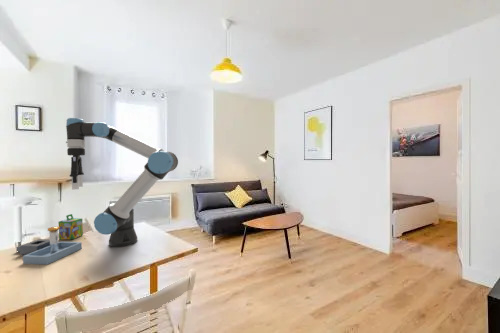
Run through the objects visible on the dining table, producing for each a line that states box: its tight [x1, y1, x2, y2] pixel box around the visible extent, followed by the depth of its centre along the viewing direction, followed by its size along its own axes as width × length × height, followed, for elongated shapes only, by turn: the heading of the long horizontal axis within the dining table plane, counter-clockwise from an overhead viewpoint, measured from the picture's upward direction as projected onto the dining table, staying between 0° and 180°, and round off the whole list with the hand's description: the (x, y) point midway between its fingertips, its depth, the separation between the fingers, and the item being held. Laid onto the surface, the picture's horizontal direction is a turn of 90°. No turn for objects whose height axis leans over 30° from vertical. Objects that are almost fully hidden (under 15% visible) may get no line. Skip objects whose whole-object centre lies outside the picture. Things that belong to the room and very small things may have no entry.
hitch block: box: [15, 238, 50, 256], centre depth 129 cm, size 10×16×5 cm, turn 83°
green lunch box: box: [58, 213, 84, 241], centre depth 152 cm, size 9×9×15 cm
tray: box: [22, 241, 83, 265], centre depth 124 cm, size 20×13×4 cm, turn 173°
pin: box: [47, 226, 59, 255], centre depth 123 cm, size 5×5×14 cm
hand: (77, 188), depth 126 cm, fingers open, 13 cm apart
